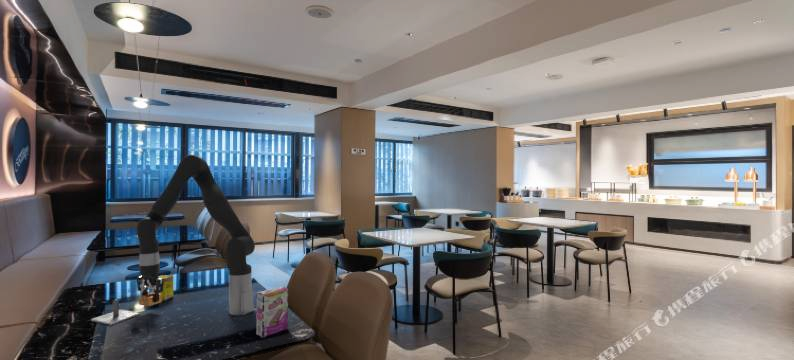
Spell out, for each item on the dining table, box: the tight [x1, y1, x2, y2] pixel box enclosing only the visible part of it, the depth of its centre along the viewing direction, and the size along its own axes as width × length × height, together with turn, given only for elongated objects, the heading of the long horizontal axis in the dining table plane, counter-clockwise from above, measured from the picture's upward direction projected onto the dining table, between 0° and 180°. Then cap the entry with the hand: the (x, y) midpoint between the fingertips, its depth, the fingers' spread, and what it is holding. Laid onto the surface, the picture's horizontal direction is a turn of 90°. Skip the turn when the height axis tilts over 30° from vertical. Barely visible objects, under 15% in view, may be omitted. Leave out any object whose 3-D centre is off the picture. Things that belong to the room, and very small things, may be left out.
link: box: [138, 292, 163, 307], centre depth 169 cm, size 6×6×4 cm
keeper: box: [90, 299, 141, 326], centre depth 162 cm, size 12×12×8 cm
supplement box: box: [155, 274, 174, 302], centre depth 186 cm, size 6×6×11 cm
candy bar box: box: [255, 285, 289, 339], centre depth 149 cm, size 11×5×16 cm, turn 141°
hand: (150, 301), depth 169 cm, fingers closed on link, 6 cm apart
